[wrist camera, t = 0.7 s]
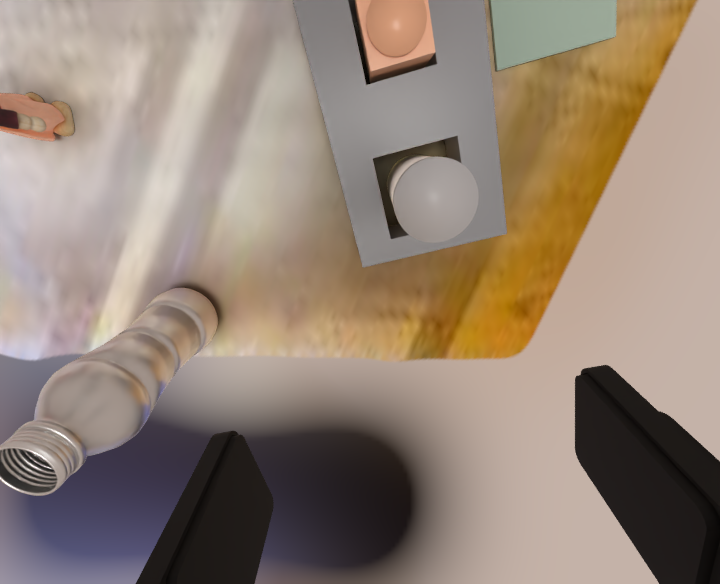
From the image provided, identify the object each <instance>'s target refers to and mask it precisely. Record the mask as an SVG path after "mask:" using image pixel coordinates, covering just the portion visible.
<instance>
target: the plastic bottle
mask: <svg viewBox="0 0 720 584" xmlns="http://www.w3.org/2000/svg"><path fill="white" fill-rule="evenodd" d="M217 326H218V317H217V313H216V310H215V308H214V306H213V305H212V303H211V302H210V301H209V300H208V298H206V297H205V296H204V295H203V294H201V293H199V292H197V291H195V290H192V289H188V288H174V289H171V290H168V291H166V292H164V293H161V294H159V295H158V296H156V297H155V298H154V299H153V300H152V301H151V302H150V303H149V305H148V306H147V307H146V308H145V310H144V311H143V313H142V314H141V315H140V316H139V317H138V318H137V319H136V320H135V321H134V322H133V323H132V324H131V325H130V326H129V327H128V328H127V329H126V330H124V331H123V332H121V333H120V334H119V335H117V336H116V337H114V338H113V339H111V340H110V341H108V342H107V343H105V344H104V345H102V346H100V347H98V348H97V349H95V350H93V351H91V352H89V353H87V354H85V355H83V356H82V357H80V358H78V359H76V360H74V361H73V362H70V363H69V364H67V365H66V366H64V367H63V368H61V369H59V370H58V371H57V372H55V373H54V374H53V375H52V376H51V377H50V379H49V380H48V382H47V383H46V384H45V386H44V387H43V389H42V390H41V393H40V395H39V399H38V402H37V405H36V409H35V417H34V421H30V422H27V423H26V424H24V425H23V426H21V427H20V428H19V429H17V430H16V431H15V432H14V434H13V436H12V437H10V438H9V439H8V440H7V441H5V442H4V443H3V444H2V445H0V480H1V481H2V482H3V483H4V484H6V485H8V486H9V487H11V488H12V489H14V490H17V491H19V492H22V493H25V494H29V495H38V496H41V495H47V494H50V493H52V492H54V491H55V490H56V489H58V488H59V487H60V486H61V485H62V484H63V483H64V482H65V480H66V479H67V478H68V477H69V476H70V475H71V474H73V473H75V472H76V471H77V470H78V469H79V468H80V467H81V466H82V464H84V462H85V460H86V456H90V455H94V454H98V453H101V452H104V451H107V450H110V449H113V448H116V447H118V446H120V445H122V444H124V443H125V442H126V441H128V440H129V439H131V438H132V437H134V436H135V435H136V434H137V433H138V432H139V431H140V430H141V428H142V427H143V425H144V424H145V422H146V421H147V419H148V417H149V415H150V413H151V411H152V410H153V408H154V406H155V404H156V402H157V401H158V399H159V397H160V395H161V394H162V392H163V391H164V389H165V388H166V386H167V385H168V384H169V382H170V381H171V379H172V378H173V376H174V375H175V374H176V372H177V371H178V370H179V369H180V368H181V367H182V366H183V365H184V364H185V363H186V362H187V361H188V360H189V359H190V358H191V357H192V356H193V355H195V354H197V353H198V352H200V351H201V350H202V349H203V348H204V347H206V346H207V345H208V344H209V343H210V342H211V340H212V338H213V336H214V334H215V332H216V329H217Z"/></svg>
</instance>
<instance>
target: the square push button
mask: <svg viewBox="0 0 720 584" xmlns="http://www.w3.org/2000/svg"><path fill="white" fill-rule="evenodd" d="M355 6H356V17H357V23H358V28H359V33H360V38H361V42H362V47H363V52H364V56H365V61H366V66H367V71H368V75H369V80H370V84H371V83H375V82H378V81H382V80H385V79H388V78H392V77H395V76H399V75H402V74H405V73H409V72H412V71H416V70H419V69H422V68H424V67H425V66H426V65H427V63H428V62H429V60H430V59H431V58H432V56H433V55H434V54H435V52H436V51H435V44H434V37H433V31H432V24H431V17H430V10H429V3H428V0H355Z"/></svg>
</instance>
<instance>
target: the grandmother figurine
mask: <svg viewBox="0 0 720 584" xmlns="http://www.w3.org/2000/svg"><path fill="white" fill-rule="evenodd" d="M74 129H75V128H74V122H73V117H72V112H71V109H70V107H69V106H68V105H67V104H66V103H64V102H60V101H55V102H53V103H52V104H48V103H44V101H43V99H42V98H41V97H40V96H38V95H37V94H35V93H31V92H30V93H27V94H26V95H20V94H6V93H0V131H3V132H7V133H11V134H15V135H19V136H23V137H27V138H32V139H38V140H45V141H54V140H55V136H54V134H53V132H54V133H57V134H59V135H62V136H71V135H72V134H73V133H74Z"/></svg>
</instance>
